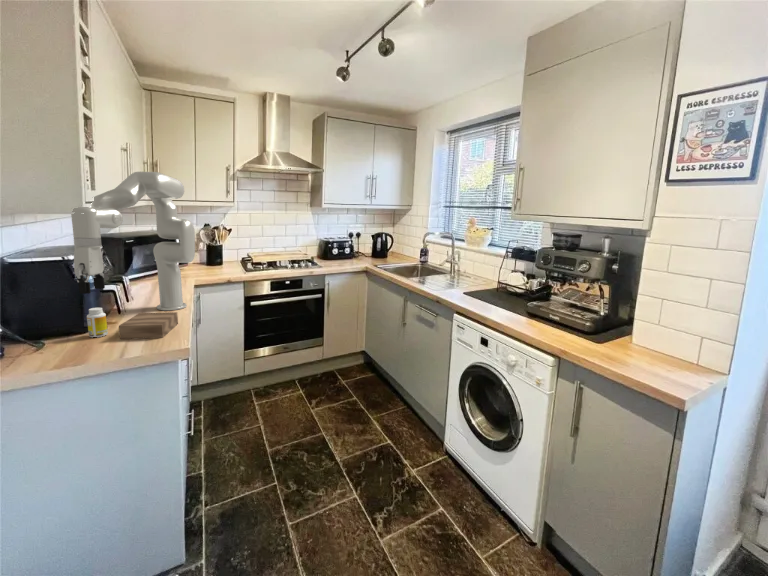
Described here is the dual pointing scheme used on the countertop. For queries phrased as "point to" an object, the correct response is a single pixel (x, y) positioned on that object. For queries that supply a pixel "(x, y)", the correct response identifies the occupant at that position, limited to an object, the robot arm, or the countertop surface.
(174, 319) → the walnut riser
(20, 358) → the countertop surface
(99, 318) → the supplement bottle
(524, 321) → the countertop surface
